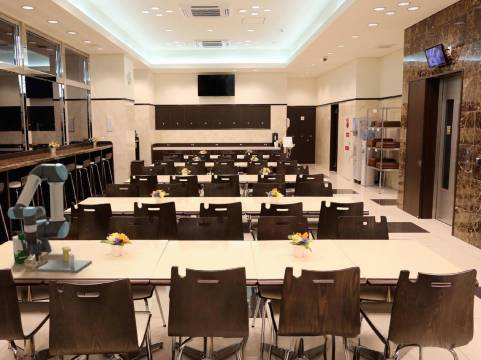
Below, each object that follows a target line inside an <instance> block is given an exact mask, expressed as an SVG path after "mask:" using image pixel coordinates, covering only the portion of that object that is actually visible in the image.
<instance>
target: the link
mask: <svg viewBox="0 0 481 360" xmlns="http://www.w3.org/2000/svg"><path fill="white" fill-rule="evenodd" d="M48 253H49V252H41V255H40V256H39V261H38V266H36V267H35V258H34V257H35V254H32V255H33V256H32V255H31V257H30V258H28V259H26V260H24V263H23V264H24V271H25V272H32V271H34V270H37V269H38V268H39V267H41V266H43V265H45V264H47V263H48V262H49V254H48Z"/></svg>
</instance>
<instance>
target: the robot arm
mask: <svg viewBox="0 0 481 360" xmlns="http://www.w3.org/2000/svg"><path fill="white" fill-rule="evenodd" d="M68 175H69V174H68V169H67V167H66V165H64V164H62V163H41V164H38V165H37V166H35V167H33V169H32V170H30V172H29V173H28V174H27V177H26V178H27V181H26V183H25V185H24V187H23V189H22V191H21V193H20V195H19V197H18V200H17V202H16V203H15V206H12V207H10V208H8V211H7V216H8V218H10V219H14V220H17V219H18V220H21V219H22V220H23V229H24V230H23V231H24V235H25V240H23V241H21V243H22V247H23V254H24V256H27V259H28V258H30V257H32V255H34V254H35V257H34V258H35V267H36V266H38V261H39V256H40V255H41V252H48V253H50V252H51V251H52V249H53V248H52V246H51V244H50V241H49V238H50V239H51V238H52V239H61V238H62V239H64V238H65V237H67V235H68V234H69V231H70V223H69V222H68V221H67V219H66V218H65V216H64V214H65V213H64V190H63V189H64V188H63V185H64V184H65V182H66V180H68ZM42 181H47V184H48V185H49V195H50V196H49V198H50V200H49V201H50V203H49V204H50V218H49V219H46V218H45V219H42V218H43V217H45V215H46V209H45V207H44V206H29V205H30V203H31V201H32V198H33V197H34V195H35V192H36V191H37V188H38V186H39V185H40V184H41V183H42ZM26 243H27V246H26Z"/></svg>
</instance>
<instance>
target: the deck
mask: <svg viewBox="0 0 481 360" xmlns="http://www.w3.org/2000/svg"><path fill="white" fill-rule="evenodd" d="M61 249H62V257H63V258H62V259H60V258H59V259H56V258H55V259H51V260H50V261H48V263H46V264H45V265H41V266H39V267H37V268H36V272H46V273H47V272H48V273H49V272H50V273H53V272H54V273H69V272H70V273H72V274H73V273H74V274H77V273H78V272H80V271H82V270H83V269H85V268H86V267H88V266H89V265H91V264H92V263H93V262H92V260H87V259H86V260H85V259H83V260H81V259H75V254H69V252H71V251H72V249H71V248H70V247H69V246H63V247H62V248H61Z"/></svg>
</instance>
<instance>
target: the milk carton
mask: <svg viewBox="0 0 481 360" xmlns="http://www.w3.org/2000/svg"><path fill="white" fill-rule="evenodd" d="M23 240H25V233H18V234H17V235H15V236H12V246H13V259H14V263H15V264H16V265H23V264H25V263H24V260H26V259H27V256H24V254H23V247H22V243H21V241H23ZM26 246H27V243H26Z"/></svg>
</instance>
